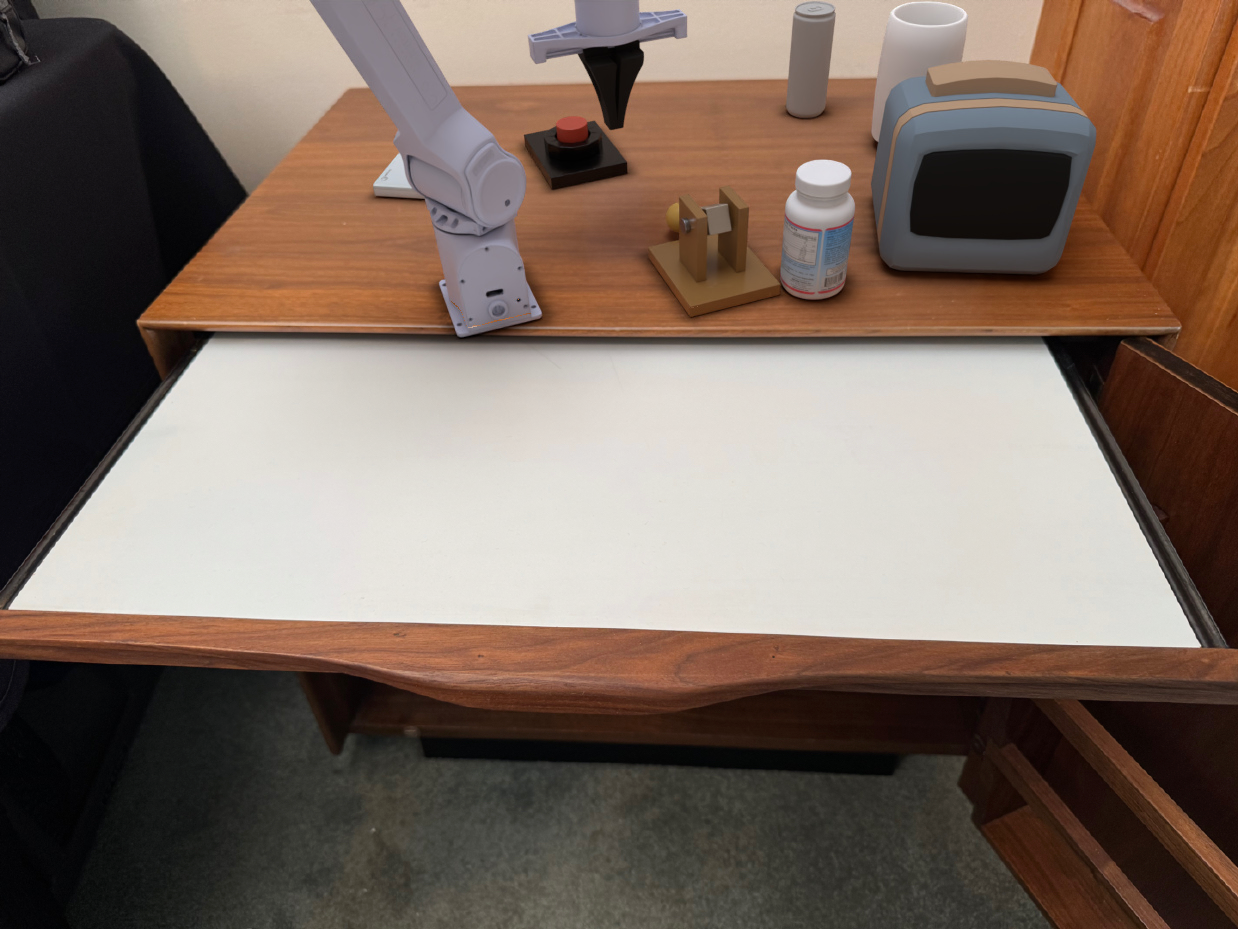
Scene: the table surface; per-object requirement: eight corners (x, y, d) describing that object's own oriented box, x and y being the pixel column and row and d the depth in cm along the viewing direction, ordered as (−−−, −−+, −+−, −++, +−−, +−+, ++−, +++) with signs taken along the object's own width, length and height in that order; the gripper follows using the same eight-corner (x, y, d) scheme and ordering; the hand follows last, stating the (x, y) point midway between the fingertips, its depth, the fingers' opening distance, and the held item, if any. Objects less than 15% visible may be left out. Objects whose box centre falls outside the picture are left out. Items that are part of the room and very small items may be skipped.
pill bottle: (836, 263, 85) (852, 152, 77) (850, 300, 81) (868, 186, 73) (773, 268, 85) (782, 157, 77) (784, 304, 81) (795, 191, 73)
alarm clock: (876, 277, 83) (907, 111, 72) (866, 192, 94) (891, 37, 83) (1060, 283, 81) (1120, 112, 70) (1026, 195, 92) (1074, 36, 81)
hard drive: (371, 184, 98) (476, 190, 96) (399, 150, 104) (499, 155, 102) (375, 198, 100) (479, 203, 97) (403, 164, 105) (501, 168, 103)
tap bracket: (648, 257, 88) (645, 184, 82) (731, 237, 89) (734, 165, 84) (690, 317, 80) (690, 241, 75) (779, 294, 82) (786, 219, 76)
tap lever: (664, 234, 90) (659, 205, 89) (691, 228, 91) (686, 198, 90) (706, 240, 79) (700, 206, 78) (736, 232, 80) (731, 199, 79)
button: (592, 140, 101) (591, 125, 100) (562, 146, 100) (560, 131, 99) (583, 128, 103) (581, 113, 102) (553, 134, 102) (552, 119, 101)
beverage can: (778, 108, 110) (785, 5, 102) (810, 99, 112) (820, -3, 103) (799, 122, 107) (809, 17, 99) (832, 113, 108) (845, 9, 100)
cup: (854, 135, 104) (872, 6, 94) (919, 123, 105) (944, -5, 95) (888, 166, 98) (912, 32, 88) (957, 154, 99) (987, 20, 89)
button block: (627, 173, 100) (626, 148, 98) (552, 189, 99) (549, 164, 96) (595, 131, 108) (593, 107, 106) (525, 145, 107) (521, 121, 105)
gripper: (667, -54, 80) (669, 96, 90) (512, -30, 77) (531, 122, 87) (696, -33, 75) (695, 123, 85) (532, -6, 73) (550, 152, 82)
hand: (613, 125), depth 86 cm, fingers closed
